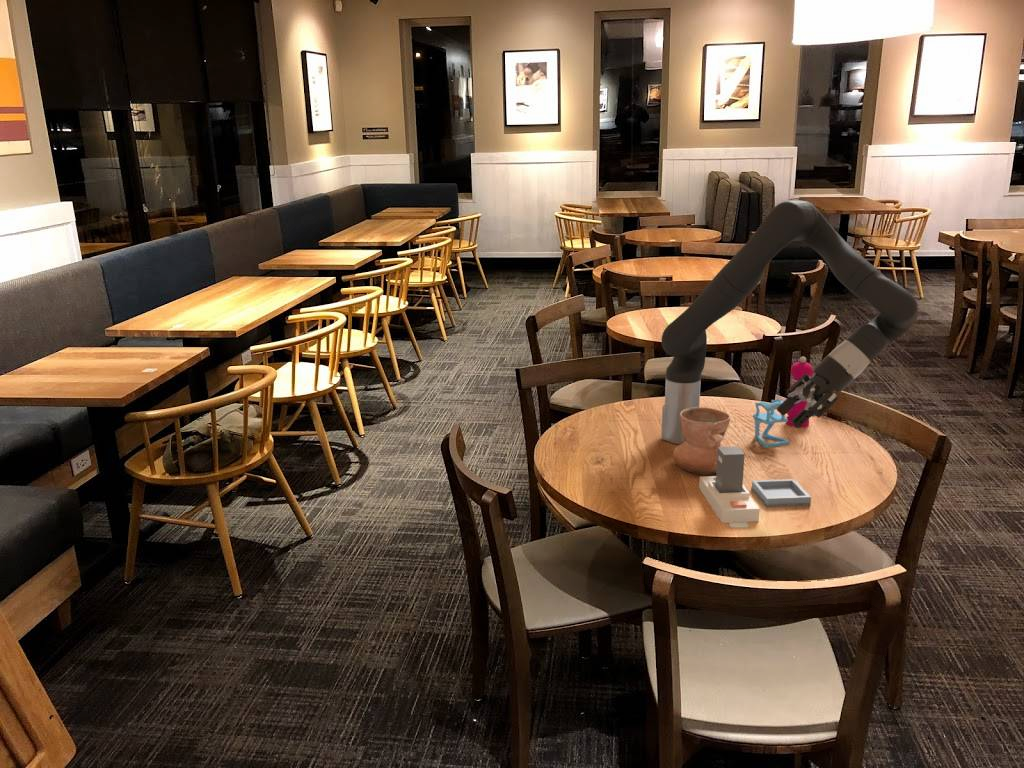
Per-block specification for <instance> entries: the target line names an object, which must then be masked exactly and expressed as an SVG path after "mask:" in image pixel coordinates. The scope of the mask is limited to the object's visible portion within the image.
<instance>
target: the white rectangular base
mask: <svg viewBox="0 0 1024 768" xmlns="http://www.w3.org/2000/svg"><path fill="white" fill-rule="evenodd" d="M698 485H699V486H698V489H699V490H700V493H702V494H703V497H705V499H706V501H707V503H708V504H709V505H710V507H711V509H712V510H713V511H714V513H715V515H716V516H717V518H718V519H719V520H720V523H721V524H727V523H728V524H729V523H731V524H732V523H752V522H759V521H760V510H761V509H760V508H759V506H758V505H757V503H756V502H755V501H754V500H753V499H752V497H751V496H750V494H751V492H750V491H749V490H748V489H747V488H746V486H745V485H744V484H743V485H742V492H737V493H719V492H718V490H717V489H716V488H715V485H716V475H710V476H709V475H708V476H699V484H698Z"/></svg>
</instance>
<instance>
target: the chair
mask: <svg viewBox="0 0 1024 768" xmlns="http://www.w3.org/2000/svg"><path fill="white" fill-rule="evenodd" d="M783 402H784V400H781V399H771V402H770V403H769V402H766V401H760V402H754V403H755V404H754V405H755V407H756V409H755V410H756V412H755V413H753V414H752V418H753V420H754V432H755V433H754V438H755V439H756V440H757V442H758V443H759V444H760V445H761V446H762V447H763V448H764V449H767V448H776V447H781V446H788V445H790V440H788V439H785V438H782V437H779V436H776V435H773V434H769V432H770V430H771V428H772V427H773V426H774V424H777V423H786V422H787V421H788V418H786V414H785V415H782V414H779V413H777V412H775V410H776V411H777V408H778V407H779V406H780V405H781V404H782V403H783ZM760 407H762V408H763V409H764V410H765V411H766V412H763V413H760ZM761 423H762V424H765V425H767V426H766V428H765V429H764V431H763V432H762V436H761V435H760V424H761ZM763 437H764V438H767V439H769V440H772V441H773V440H774V441H776V442H771V443H766V442H765V441H764V439H763Z"/></svg>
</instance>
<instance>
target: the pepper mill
mask: <svg viewBox="0 0 1024 768" xmlns="http://www.w3.org/2000/svg"><path fill="white" fill-rule="evenodd" d="M790 374H791V376H792V378H791V384H792V386H793V385H794V384H795V383H796V382H797V381H798V380H799V379H800V378H801V377H802V376H804V375H805V374H807V375H808V376H809V377H810V378H813V377H812V376H813V375H814V367H813V366H812V364H810V363H809V362H808V361H807V358H806V357H805V356H800V357H799V361H796V362H795V363H793V364H792V366H791V368H790ZM802 385H803V384H802ZM793 391H796V389H795V390H793ZM798 397H799V396H798ZM798 397H797V398H798ZM794 404H795V403H794ZM806 405H807V401H801V402H798V403H796V404H795V406H794V407H792V408H791V409H790V410H789V411H788V412H787V413H786V415H787V416H785V418H788V421H787V422H785V424H786V425H787V426H789V427H792V428H796V429H798V428H797V427H796V426H795V425H794V424H793V423H792V422H791V421H792V419H793V418H794V417H796V416H797V415H798V414H799V413H800V412H801V411H802V410H803V409H804V410H805V407H806ZM811 407H812V406H811ZM809 425H810V418H809V419H808V420H807V421H806V422H805V423H804V424H803V425H802V426H801V427H800V429H802V428H803V429H804V428H807V427H808V426H809Z"/></svg>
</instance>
